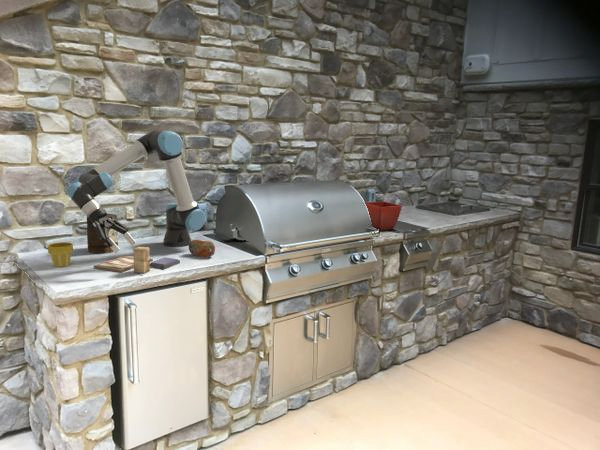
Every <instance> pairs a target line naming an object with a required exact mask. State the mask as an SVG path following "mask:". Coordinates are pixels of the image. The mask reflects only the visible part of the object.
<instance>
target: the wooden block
mask: <svg viewBox="0 0 600 450" xmlns="http://www.w3.org/2000/svg"><path fill="white" fill-rule="evenodd" d="M132 252H133V253H132V254H133V255H132V256H133V259H134V268H133V273H134V274H138V275H139V274H140V275H145V274H147V273H149V272H150V271H151V270H150V269H151V267H150V263H151V262H149V258H150V247H148V246H147V247H146V246H138V247H134V248H133V251H132Z"/></svg>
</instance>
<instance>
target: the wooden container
mask: <svg viewBox="0 0 600 450" xmlns="http://www.w3.org/2000/svg"><path fill="white" fill-rule="evenodd" d="M103 209H104V210H105V208H103ZM105 211H106V210H105ZM111 216H113V217H114V218H115V219H116V220H117V221H118V215H117V214H114V213H107V217H108V218H110V217H111ZM92 224H93V223H92V222H91V220H90V219H89V217H87V216H86V235H87V236H86V237H87V241H86V242H87V251H88V252H89V253H90V254H91V253H92V254H98V255H99V254H100V255H101V254H102V255H103V254H110V253H115V252H114V251H113V250H112V249H111V248H110V247H109V246H108V245H107V243H106V242H105V243H102V242H100V241H99V238H98V236H97V234H96V231H95V229H94V228H93V226H92ZM107 232H108V237H109V238H111V239H112V240H113V241H114V242H115V244H116V245H117V246H118V247H119V232H117V231H115V230H113V229H107ZM101 238H102V237H101Z"/></svg>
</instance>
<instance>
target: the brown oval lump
mask: <svg viewBox="0 0 600 450" xmlns="http://www.w3.org/2000/svg"><path fill="white" fill-rule="evenodd" d="M188 251H189V253H190V254H191V255H192V256H194V257H200V258H205V259H207V258H211V257H213V256H214V255H215V252H216V246H215V244H214V243H213V242H212V241H211V240H204V239H191V242H190V244H189V245H188Z"/></svg>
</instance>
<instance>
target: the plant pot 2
mask: <svg viewBox="0 0 600 450" xmlns="http://www.w3.org/2000/svg"><path fill="white" fill-rule="evenodd" d="M364 203H365V204H366V206H367V208H368V211H369V215H370V218H371V222H372V226H373V227H374V228H376V229H375V230H377V229H379V230H378V231H386V230H387V231H388V230H389V231H390V230H394V228H395V226H396V224H397V223H398V219H399V217H400V215H401V211H402V207H403V206H402V205H400V204H395V203H393V202H388V201H369V202H368V201H367V202H364ZM374 228H373V229H374Z"/></svg>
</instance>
